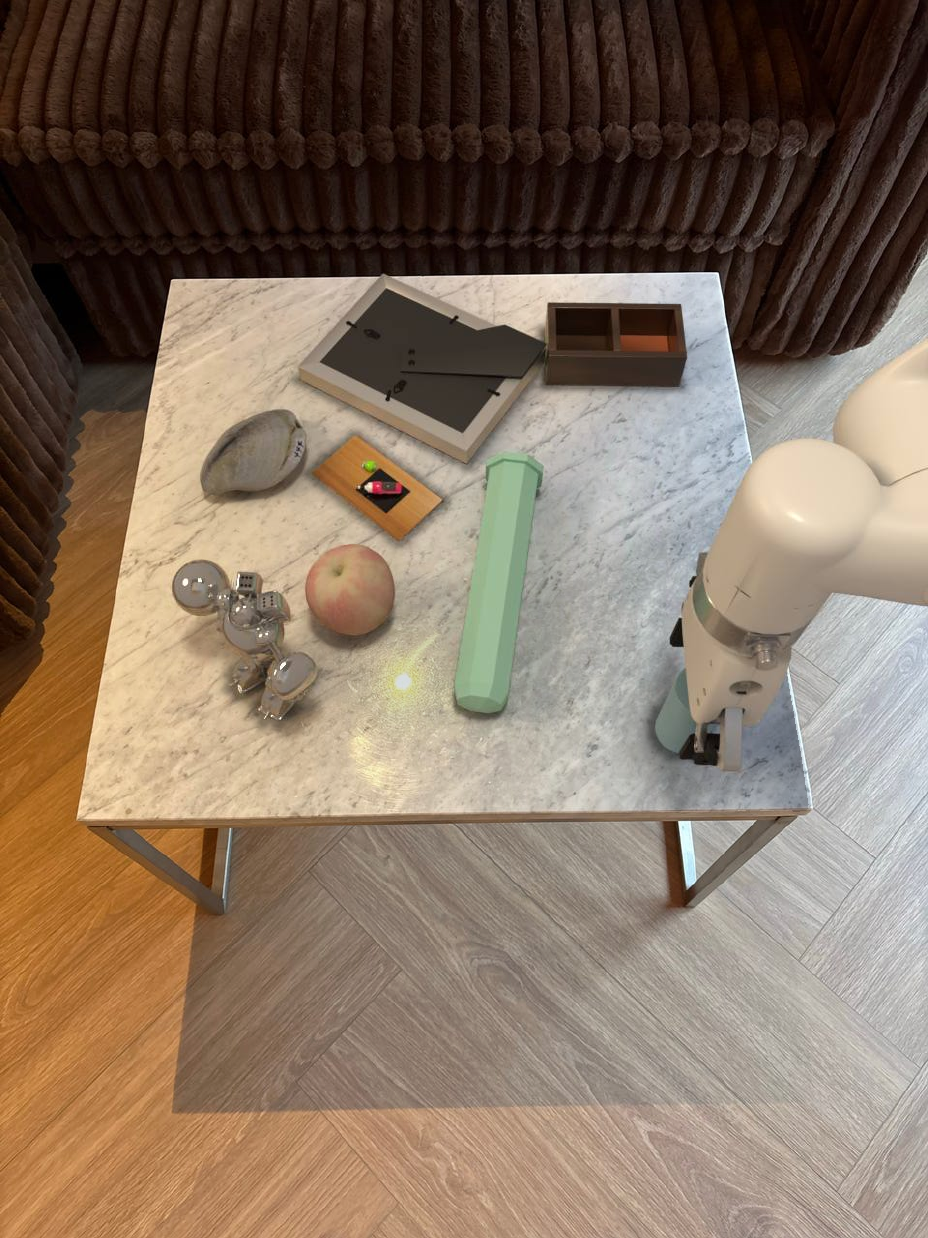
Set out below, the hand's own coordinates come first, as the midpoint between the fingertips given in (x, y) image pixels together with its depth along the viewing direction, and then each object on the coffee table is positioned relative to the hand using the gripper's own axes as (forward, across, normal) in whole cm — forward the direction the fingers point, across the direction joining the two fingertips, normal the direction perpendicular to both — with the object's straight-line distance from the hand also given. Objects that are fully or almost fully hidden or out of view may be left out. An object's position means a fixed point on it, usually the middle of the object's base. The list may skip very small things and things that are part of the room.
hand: (693, 698), depth 75 cm
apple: (+8, +11, +28) cm, 32 cm away
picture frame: (+8, +40, +24) cm, 47 cm away
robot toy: (+8, +5, +36) cm, 38 cm away
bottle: (+7, 0, 0) cm, 7 cm away
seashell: (+8, +27, +40) cm, 49 cm away
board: (+8, +25, +28) cm, 38 cm away
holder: (+7, +42, +4) cm, 43 cm away
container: (+8, +13, +16) cm, 22 cm away
